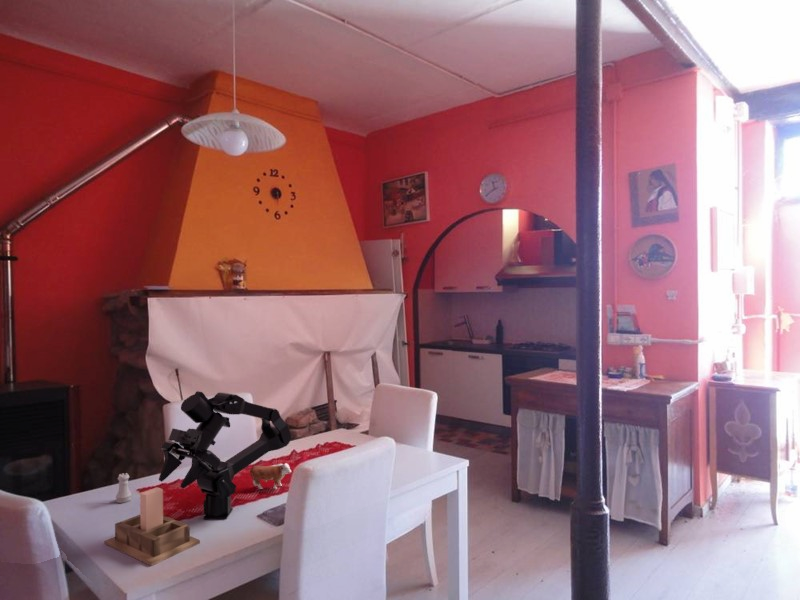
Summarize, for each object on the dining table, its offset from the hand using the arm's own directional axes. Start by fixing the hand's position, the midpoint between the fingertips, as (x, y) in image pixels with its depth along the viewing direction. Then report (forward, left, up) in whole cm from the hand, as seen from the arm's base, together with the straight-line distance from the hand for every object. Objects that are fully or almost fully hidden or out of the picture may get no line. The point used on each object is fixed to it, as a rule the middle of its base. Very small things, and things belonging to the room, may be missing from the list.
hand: (170, 484), depth 136 cm
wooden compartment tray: (+3, +4, -13) cm, 14 cm away
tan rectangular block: (+3, +4, -13) cm, 14 cm away
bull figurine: (-20, -32, -14) cm, 40 cm away
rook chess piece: (+23, -24, -14) cm, 36 cm away
